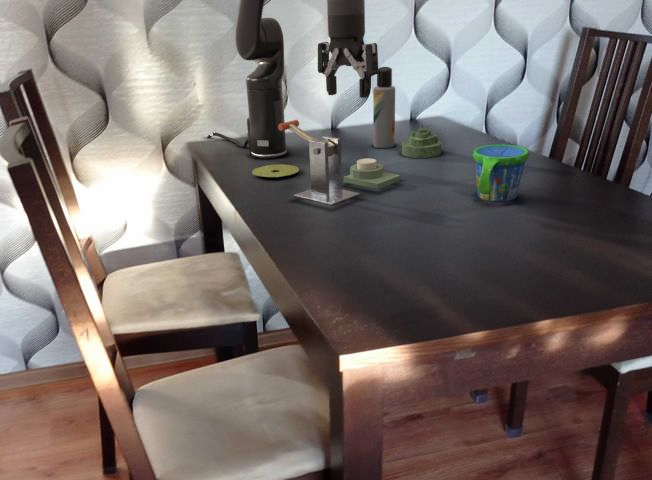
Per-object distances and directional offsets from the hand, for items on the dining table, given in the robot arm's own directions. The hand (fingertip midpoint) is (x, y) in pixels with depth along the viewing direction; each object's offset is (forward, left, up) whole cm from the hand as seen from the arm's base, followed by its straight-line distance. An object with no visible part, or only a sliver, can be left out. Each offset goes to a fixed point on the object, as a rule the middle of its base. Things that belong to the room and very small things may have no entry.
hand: (347, 95), depth 149 cm
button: (+2, +3, -16) cm, 16 cm away
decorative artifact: (-4, +33, -20) cm, 39 cm away
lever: (-2, -11, -8) cm, 14 cm away
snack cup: (+32, +9, -20) cm, 39 cm away
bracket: (+3, -11, -20) cm, 22 cm away
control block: (+4, +3, -20) cm, 20 cm away
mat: (-19, -5, -20) cm, 28 cm away
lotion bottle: (-17, +34, -20) cm, 43 cm away
